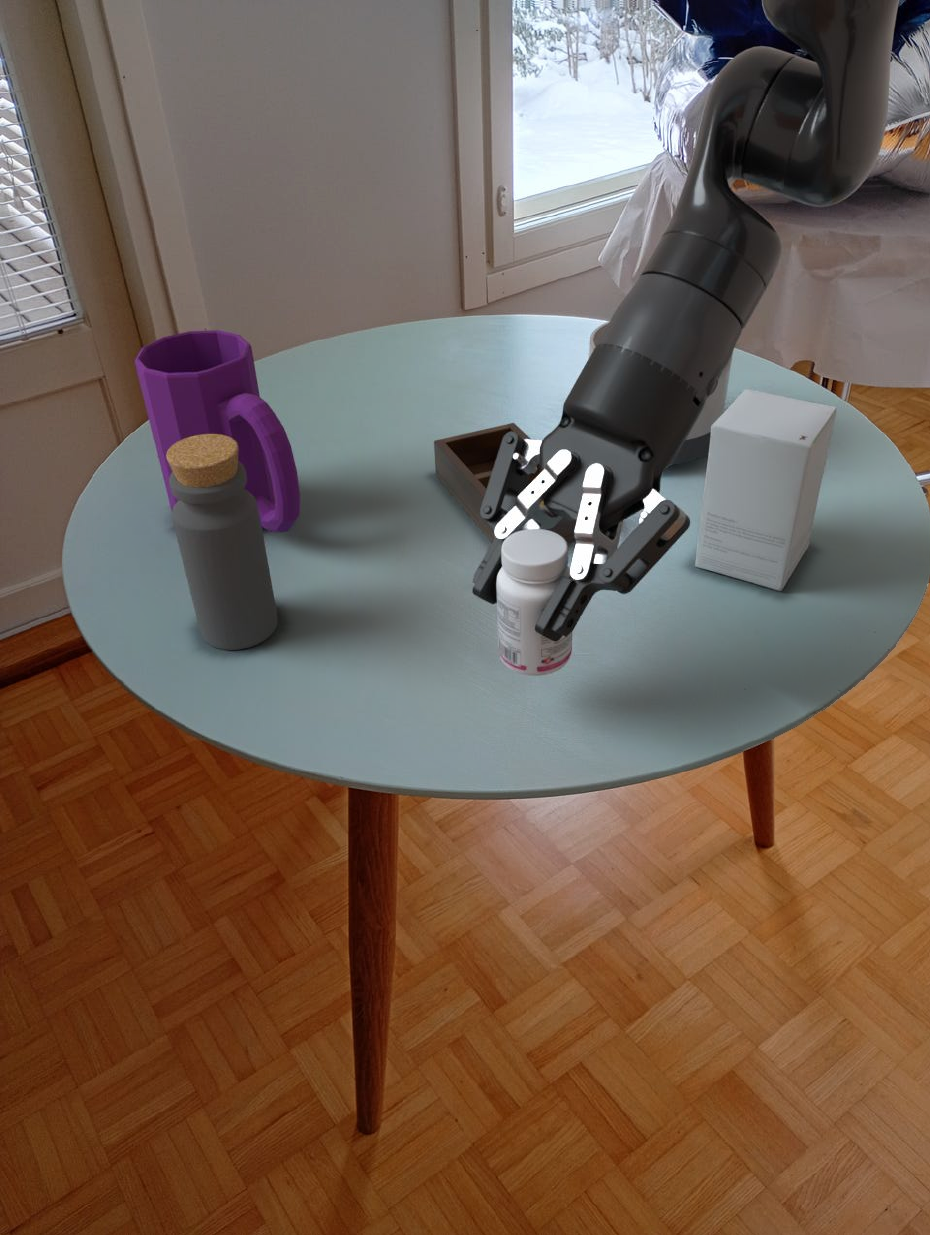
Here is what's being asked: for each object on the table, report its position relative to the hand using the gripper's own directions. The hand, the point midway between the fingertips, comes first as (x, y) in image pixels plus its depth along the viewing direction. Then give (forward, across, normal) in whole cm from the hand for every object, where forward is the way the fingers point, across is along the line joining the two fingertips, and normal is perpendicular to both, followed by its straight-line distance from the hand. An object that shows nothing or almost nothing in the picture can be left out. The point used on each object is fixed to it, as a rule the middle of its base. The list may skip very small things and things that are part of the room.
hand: (514, 616), depth 60 cm
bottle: (+11, -22, +1) cm, 25 cm away
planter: (-20, -18, +32) cm, 41 cm away
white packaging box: (-13, 0, +25) cm, 28 cm away
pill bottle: (+2, 0, +4) cm, 5 cm away
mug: (+5, -34, +7) cm, 35 cm away
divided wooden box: (-8, -20, +20) cm, 29 cm away
